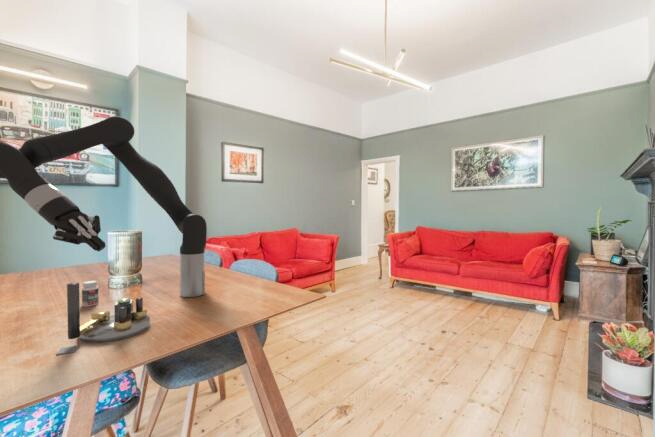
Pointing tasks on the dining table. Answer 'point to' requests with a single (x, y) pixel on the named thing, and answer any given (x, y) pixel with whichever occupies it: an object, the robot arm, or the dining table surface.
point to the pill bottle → (90, 294)
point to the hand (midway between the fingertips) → (102, 248)
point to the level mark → (67, 350)
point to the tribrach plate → (108, 331)
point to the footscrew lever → (74, 313)
